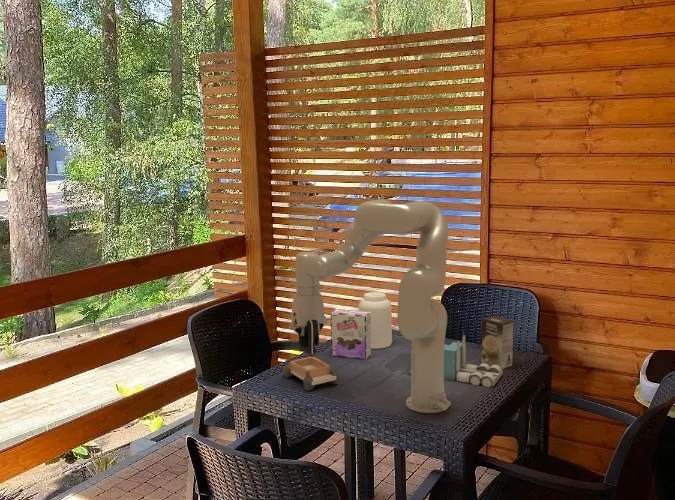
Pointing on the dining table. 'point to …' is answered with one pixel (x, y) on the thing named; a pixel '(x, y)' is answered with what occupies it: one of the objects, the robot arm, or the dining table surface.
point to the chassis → (311, 372)
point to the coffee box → (497, 341)
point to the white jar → (378, 318)
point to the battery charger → (310, 337)
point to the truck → (467, 367)
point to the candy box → (351, 334)
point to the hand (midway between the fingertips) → (309, 344)
